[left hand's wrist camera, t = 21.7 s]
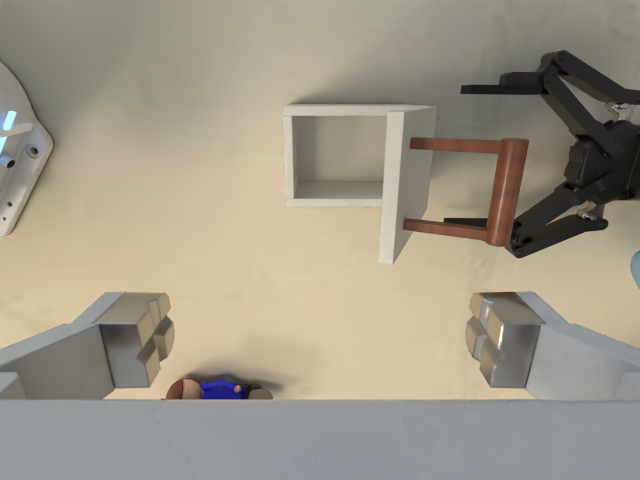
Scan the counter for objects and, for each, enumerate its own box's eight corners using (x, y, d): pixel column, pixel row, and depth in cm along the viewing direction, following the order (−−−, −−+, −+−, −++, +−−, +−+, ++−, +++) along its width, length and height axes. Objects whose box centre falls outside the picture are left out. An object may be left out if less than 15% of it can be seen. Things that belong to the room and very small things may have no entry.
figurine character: (274, 370, 58) (171, 365, 55) (274, 409, 51) (156, 406, 48) (269, 404, 60) (170, 401, 58) (268, 446, 53) (156, 444, 51)
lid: (378, 262, 25) (506, 284, 22) (387, 111, 22) (539, 114, 19) (416, 208, 37) (502, 217, 34) (426, 106, 34) (522, 107, 31)
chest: (292, 186, 46) (285, 207, 38) (290, 103, 43) (282, 105, 34) (401, 186, 46) (420, 207, 38) (408, 104, 43) (430, 106, 34)
